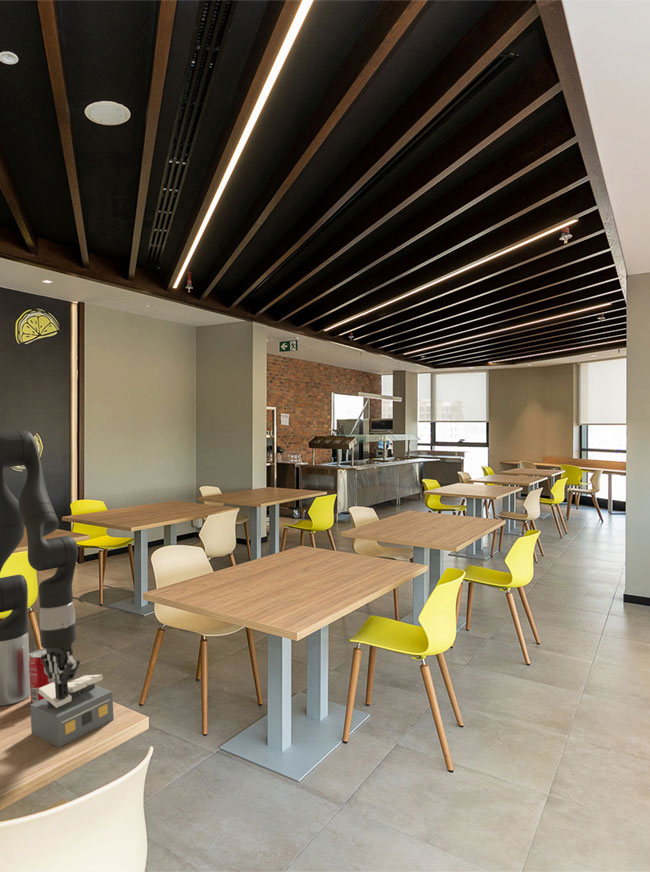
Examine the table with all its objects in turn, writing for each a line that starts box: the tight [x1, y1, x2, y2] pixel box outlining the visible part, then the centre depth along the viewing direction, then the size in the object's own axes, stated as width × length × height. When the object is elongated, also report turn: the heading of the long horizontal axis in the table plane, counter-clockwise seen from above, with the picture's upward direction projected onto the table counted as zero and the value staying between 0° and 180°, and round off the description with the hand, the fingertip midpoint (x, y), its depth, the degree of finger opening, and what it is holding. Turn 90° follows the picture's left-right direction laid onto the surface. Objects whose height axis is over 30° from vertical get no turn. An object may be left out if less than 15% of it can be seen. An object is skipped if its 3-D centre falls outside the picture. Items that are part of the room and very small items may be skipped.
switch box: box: [29, 683, 114, 749], centre depth 132 cm, size 12×14×9 cm
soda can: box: [29, 648, 53, 704], centre depth 147 cm, size 7×7×13 cm
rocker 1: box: [38, 682, 72, 708], centre depth 129 cm, size 8×4×1 cm, turn 56°
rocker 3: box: [70, 674, 104, 685], centre depth 136 cm, size 8×4×1 cm, turn 55°
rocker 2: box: [67, 681, 87, 693], centre depth 132 cm, size 8×4×1 cm, turn 55°
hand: (62, 697), depth 127 cm, fingers closed
